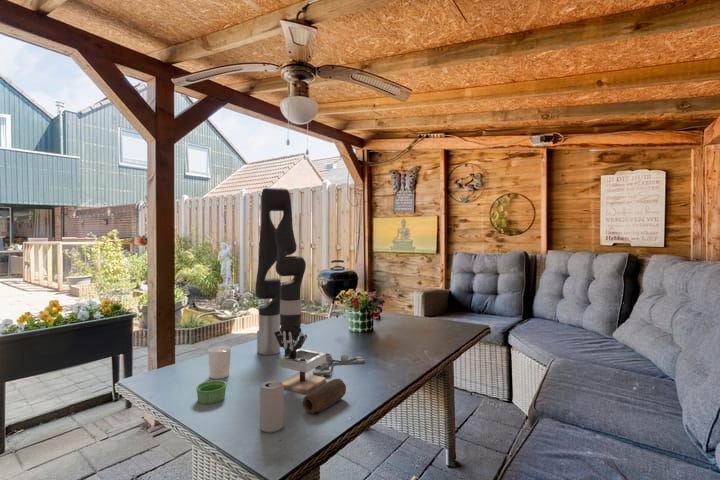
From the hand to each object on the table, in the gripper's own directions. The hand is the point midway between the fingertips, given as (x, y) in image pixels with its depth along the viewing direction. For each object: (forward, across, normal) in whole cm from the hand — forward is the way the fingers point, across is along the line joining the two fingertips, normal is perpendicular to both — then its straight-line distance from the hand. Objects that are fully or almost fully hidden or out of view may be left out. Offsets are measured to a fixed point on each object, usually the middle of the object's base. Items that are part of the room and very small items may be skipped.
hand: (290, 359), depth 132 cm
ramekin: (+8, -14, -23) cm, 28 cm away
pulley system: (+9, +5, +21) cm, 24 cm away
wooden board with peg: (+8, +5, 0) cm, 9 cm away
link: (+1, +5, 0) cm, 5 cm away
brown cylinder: (+8, +21, -10) cm, 25 cm away
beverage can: (+8, +15, -28) cm, 33 cm away
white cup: (+8, -27, -8) cm, 29 cm away
